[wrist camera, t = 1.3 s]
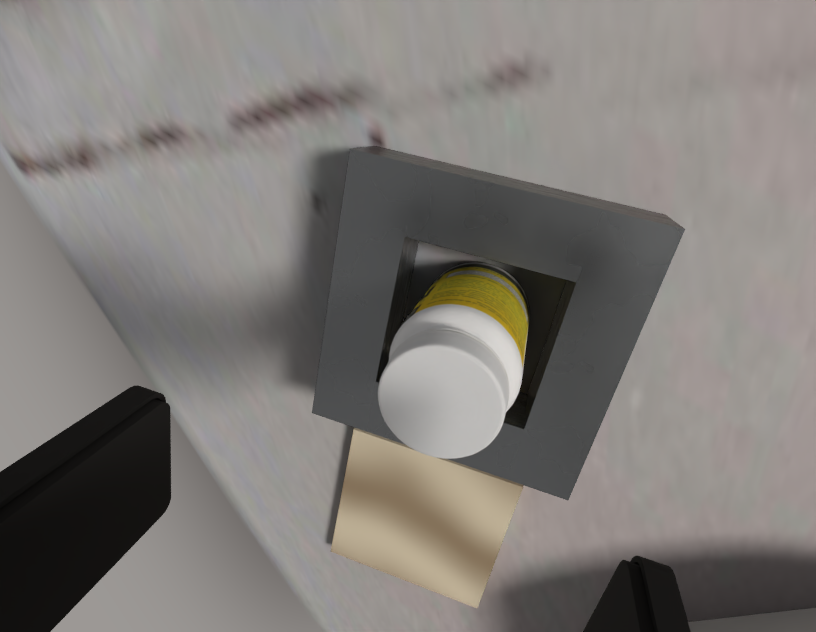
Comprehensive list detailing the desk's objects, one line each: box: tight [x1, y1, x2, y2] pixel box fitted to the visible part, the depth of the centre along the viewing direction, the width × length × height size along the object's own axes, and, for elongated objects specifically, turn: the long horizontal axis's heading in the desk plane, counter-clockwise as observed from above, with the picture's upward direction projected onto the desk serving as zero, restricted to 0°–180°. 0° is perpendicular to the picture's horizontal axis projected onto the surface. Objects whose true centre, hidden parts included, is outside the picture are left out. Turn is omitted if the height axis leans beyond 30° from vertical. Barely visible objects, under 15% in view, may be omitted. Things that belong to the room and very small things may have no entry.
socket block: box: [312, 146, 685, 500], centre depth 21 cm, size 12×12×3 cm
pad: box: [331, 428, 523, 608], centre depth 27 cm, size 9×9×1 cm
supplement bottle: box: [378, 262, 530, 459], centre depth 19 cm, size 5×5×8 cm
